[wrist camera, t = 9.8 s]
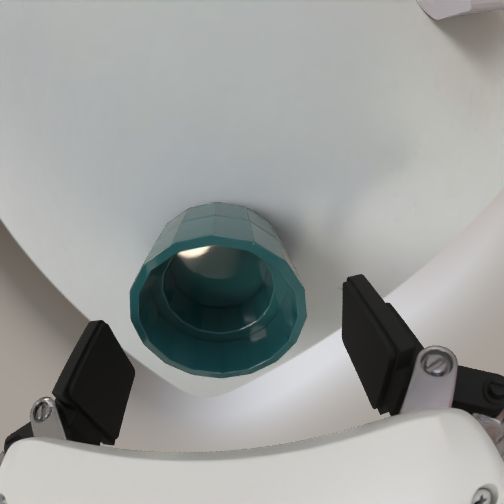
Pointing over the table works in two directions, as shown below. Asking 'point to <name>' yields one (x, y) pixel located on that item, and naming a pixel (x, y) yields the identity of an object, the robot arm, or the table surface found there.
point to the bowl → (218, 293)
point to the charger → (458, 7)
